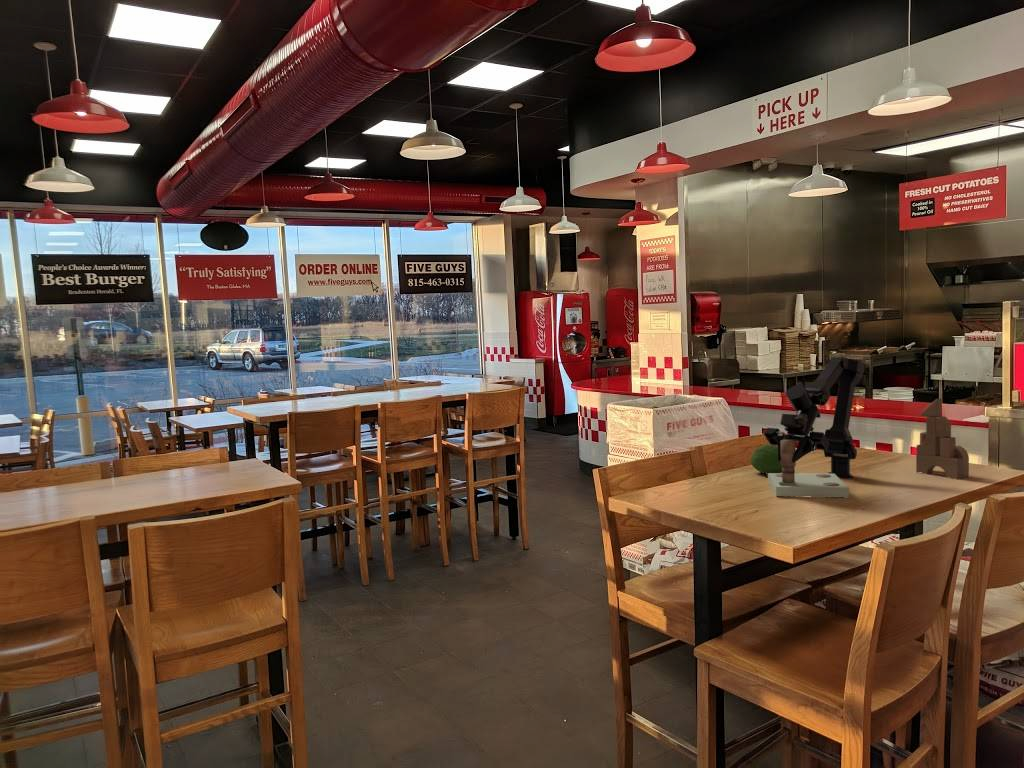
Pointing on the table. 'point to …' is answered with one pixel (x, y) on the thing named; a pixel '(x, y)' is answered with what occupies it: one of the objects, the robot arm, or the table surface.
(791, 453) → the stool leg
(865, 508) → the table surface
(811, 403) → the robot arm
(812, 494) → the seat board
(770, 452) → the fruit
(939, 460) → the wooden toy
